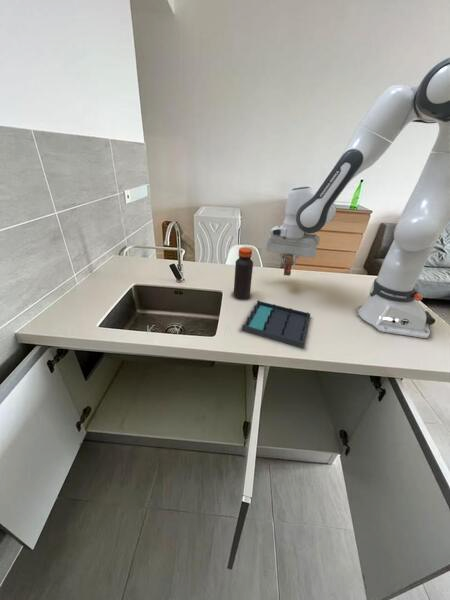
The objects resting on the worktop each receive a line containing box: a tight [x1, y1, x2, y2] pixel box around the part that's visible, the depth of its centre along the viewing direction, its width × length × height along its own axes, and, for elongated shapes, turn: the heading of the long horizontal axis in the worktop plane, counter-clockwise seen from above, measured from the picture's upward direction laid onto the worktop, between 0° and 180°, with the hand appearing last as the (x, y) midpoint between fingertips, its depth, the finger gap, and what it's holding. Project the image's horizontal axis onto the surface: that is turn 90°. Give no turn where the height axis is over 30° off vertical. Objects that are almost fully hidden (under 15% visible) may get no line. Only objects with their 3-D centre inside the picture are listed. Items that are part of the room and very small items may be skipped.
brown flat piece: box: [283, 254, 294, 277], centre depth 103 cm, size 15×3×8 cm, turn 166°
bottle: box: [233, 247, 254, 300], centre depth 96 cm, size 7×7×20 cm
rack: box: [241, 299, 311, 349], centre depth 84 cm, size 20×18×4 cm
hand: (288, 264), depth 103 cm, fingers closed on brown flat piece, 3 cm apart
